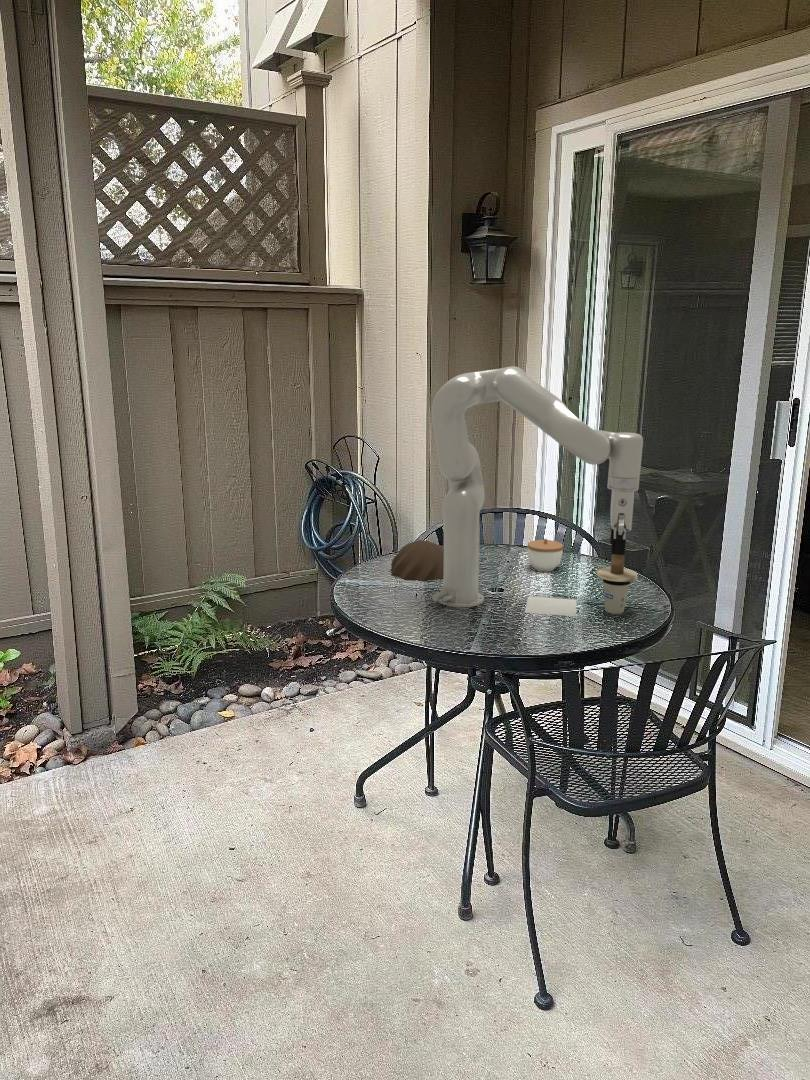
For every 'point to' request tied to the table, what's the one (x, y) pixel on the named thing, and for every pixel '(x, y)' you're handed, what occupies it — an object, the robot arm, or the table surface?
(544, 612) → the mat
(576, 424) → the robot arm
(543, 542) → the lidded jar
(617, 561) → the lid
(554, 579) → the table surface
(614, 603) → the coffee cup
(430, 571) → the decorative dome
